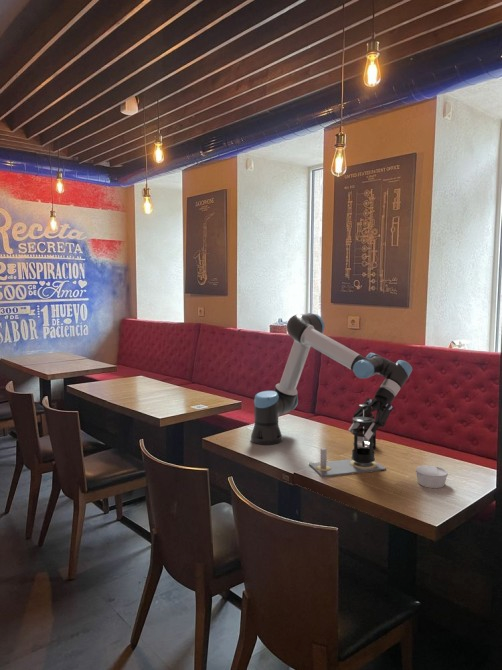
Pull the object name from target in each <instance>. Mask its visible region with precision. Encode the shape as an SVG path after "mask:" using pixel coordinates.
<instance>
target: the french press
mask: <svg viewBox="0 0 502 670" xmlns="http://www.w3.org/2000/svg"><path fill="white" fill-rule="evenodd" d="M368 406H369V405H367V404H364V403H360V404H358V407H359V408H360V407H363V417H352V422H353V421H354V423H356V422H358V423H360V424H361V425H362V426H363V428H356V429H353V430H352V433H351V434H352V435H353V443H352V444H353V449H352V451H351V452H352V453H351V454H352V456H351V459H352V460H354V461H356V462H360V463H370V462H373V461H376V458H375V450H376V449H377V443H376V441H377V431H376V432H375V433H373V435H372V436H371V438H370V439H369V442H367V441H364V437H365V436H364V435H365V434H364V431H367V430H368V428H364V427H370V426H371V425H372V423H374V421H375V419H376V418H375V419H373V418H370V417H364V410H365V407H368ZM374 424H375V423H374ZM358 431H363V434H360V433H358ZM358 436H359V437H363V441H358Z"/></svg>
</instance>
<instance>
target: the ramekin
mask: <svg viewBox="0 0 502 670" xmlns="http://www.w3.org/2000/svg"><path fill="white" fill-rule="evenodd" d="M415 473H416V478H417V482H418V484H419V485H421V486H423V487H425V488H428V489H441V488H443V487H444V486H445V484H446V481H447V477H448V471H447V470H446V469H444V468H443V467H439V466H434V465H419V466H417V467H416V468H415Z"/></svg>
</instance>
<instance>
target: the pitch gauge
mask: <svg viewBox="0 0 502 670" xmlns="http://www.w3.org/2000/svg"><path fill="white" fill-rule="evenodd" d="M327 452H328V451H327V448H324V447H323V448H320V462H311V463H310V462H309V463H308V466H309V467H310V468H311V469H312V470H313V471H314V472H315V473H317V474H318V475H319V476H320V477H321V478H328V477H329V478H330V477H338V475H340V476H346V475H345V474H349V475H353V474H352V473H358V474H363V473H362V472H366V473H372V472H371V471H375V472H381V470H384V471H387V468H386V467H385V466H384V465H382V464H380V463H379V462H377V461H376V460H375V461H373V462H370V463H360V462H356V461H354V460H352V458H348V459H340V460H339V459H338V460H330V461H329V460H328V461H327Z"/></svg>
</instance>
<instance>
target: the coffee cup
mask: <svg viewBox="0 0 502 670" xmlns="http://www.w3.org/2000/svg"><path fill="white" fill-rule="evenodd" d="M354 417H355V416H354V414H353V417H352V418H354ZM366 417H370V418H373V419H376V415H375V414H374V413H373V412H371V413H369V414H368V415H367V416H366ZM358 428H363V426H362V425H361V424H360V425H359V426H358ZM364 428H368V429H369V428H370V427H364ZM366 432H367V431H364V434H365V433H366ZM358 433H360V434H363V431H358ZM358 441H363V437H359V436H358ZM364 441H367V442H369V440H368V439H367V438H366V437H364Z"/></svg>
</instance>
